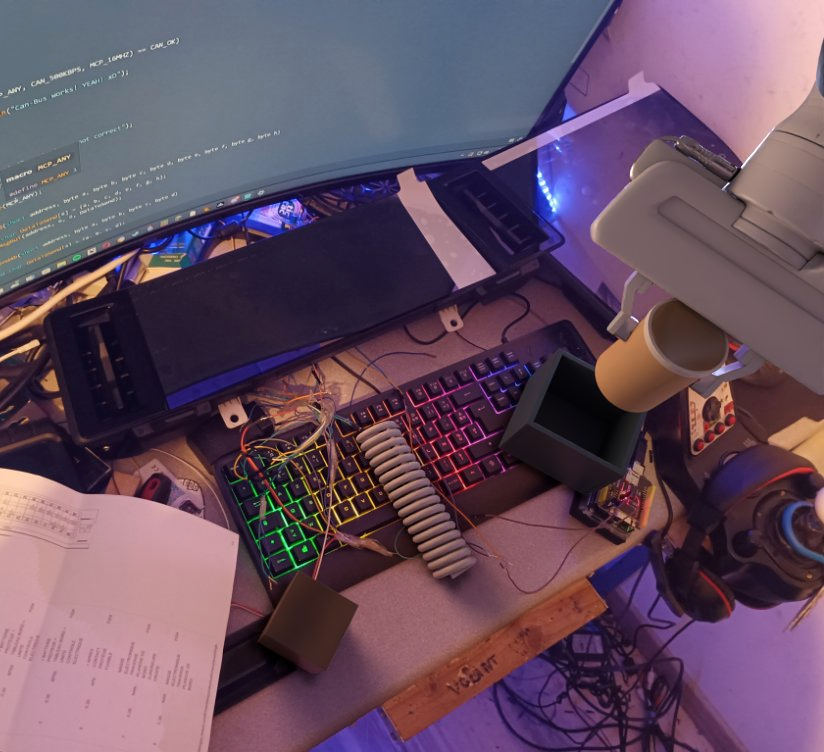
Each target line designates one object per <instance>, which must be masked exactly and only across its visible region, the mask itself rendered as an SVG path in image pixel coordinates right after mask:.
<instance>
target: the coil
mask: <svg viewBox="0 0 824 752" xmlns="http://www.w3.org/2000/svg"><path fill="white" fill-rule="evenodd" d="M397 426H398V425H397V423H396V422H395V421H393V420H386V421H383V422H380V423H377V424H374V425H373V426H371V427H368V428H366V429H364V430H363V431H362V432H360V433H358V434H357V436H356V437H355V441H356V443H358V444H361V445H360V451H363V452H365V454H364V456H365V459H367V460H369V465H370V467H371V468H375V469H374V470H373V471H374V474H375V475H376V476H380V477H379V478H378V482H379V483H380V484H385V485H384V486H383V490H384V492H386V493H389V494H388V499H389V500H390V501H394V500H395V501H394V502H393V505H392V506H393V508H394V509H399V511H398V512H397V516H399V517H400V518H404V517H405V518H404V519H403V520H402V524H403V525H404V526H406V527H408V526H409V527H408V529H407V532H408V534H409V535H414V536H413V537H412V541H413V543H415V544H418V545H417V550H418V551H419V552H420V553H423V554H422V559H423V561H426V562H428V561H429V562H428V563H427V568H428V569H429V570H431V571H433V572H432V577H433V578H434V579H435V580H439V579H442V578H445V577H447V576H449V577H450V578H451V580H454V579H455V578H456V577H458V576H460V575H461V574H463V573H464V572H466V571H467V570H469V569H470V568H471V567H473V566H474V565H475V564H476V563H477V558H476V557H475V556H472V555H471V553H472V551H471V550H472V549H471V548H469V547H465V546H466V542H467V541H466V539H464V538H460V537H461V532H460V530H459V529H455V528H456V523H455V521H453V520H450V519H451V514H450V513H449V512H447V511H446V506H445V504H443V503H440V502H441V497H440V496H439V495H438V494H437V495H436V494H435V493H436V489H435V488H434V487H433V486H430V485H431V480H430V479H429V478H426V471H424V470H423V469H421V464H420V462H418V461H416V455H415V454H414V453H411V451H412V448H411V447H410V446H409V445H407V440H406V438H405V437H402V431H401V430H400V429H398V428H397ZM393 457H394V458H393ZM398 465H399V466H398ZM399 475H401V476H399ZM398 476H399V477H398ZM396 477H397V478H396ZM401 485H403V486H401ZM399 486H400V487H399ZM398 487H399V488H398ZM407 493H408V494H407ZM405 494H406V495H405ZM400 497H401V498H400ZM407 504H408V505H407ZM403 506H404V507H403ZM402 507H403V508H402ZM400 508H401V509H400ZM406 516H407V517H406ZM410 525H411V526H410ZM470 555H471V556H470Z"/></svg>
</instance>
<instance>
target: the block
mask: <svg viewBox="0 0 824 752" xmlns="http://www.w3.org/2000/svg"><path fill="white" fill-rule="evenodd" d="M359 607H360V604H358V603H356V602H355V601H353V600H351V599H349V598H348V597H346V596H344V595H342V594H340V593H339V592H338V591H336V590H335V589H332V588H330V587H328V586H327V585H326V584H324V583H322V582H320V581H318V580H317V579H315V578H313V577H311V576H310V575H308V574H307V573H305V572H303V571H301V570H298V571H297V572H296V573H295V575H293V578H292V579H291V581H290V582H289V583H288V585H287V586H286V588H285V590H284V592H283V594H282V596H281V597H280V599H279V601H278V603H277V605H276V607H275V609H274V611H273V612H272V614H271V616H270V618H269V620H268V621H267V623H266V625H265V626H264V629H263V630H262V633H261V634H260V636H259V638H258V640H257V643H258V644H260V645H261V646H263V647H265V648H266V649H269V650H270V651H272V652H273V653H275V654H277V655H278V656H280V657H282V658H283V659H286V660H287V661H289V662H291V663H292V664H294V665H296V666H297V667H299V668H301V669H302V670H304V671H306V672H307V673H309V674H317V673H323V672H327V671H328V669H329V668H330V665H331V664H332V661H333V659H334V657H335V655H336V653H337V652H338V649H339V647H340V645H341V643H342V641H343V639H344V637H345V635H346V633H347V631H348V629H349V627H350V625H351V623H352V621H353V619H354V617H355V614H356V612H357V611H358V608H359Z"/></svg>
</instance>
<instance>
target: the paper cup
mask: <svg viewBox="0 0 824 752" xmlns="http://www.w3.org/2000/svg"><path fill="white" fill-rule="evenodd" d="M729 352H730V341H729V337H728V333H727V332H725V331H724V330H722V329H721V328H719V327H718V326H716V325H715V324H713V323H712V322H710V321H709V320H707V319H706V318H705V317H703V316H702V315H700V314H699V313H697V312H696V311H694V310H693V309H691V308H690V307H688V306H687V305H685V304H684V303H683V302H681V301H680V300H678V299H677V298H675V297H669V298H665V299H663V300H661V301H659V302H658V303H656V304H655V305H654V306H653V307H652V308H651V309H649V311H648V312H647V314H646V316H644V317H643V318H642V319H641V320H639V324H638V325H637V327H636V328H635V329H634V331H632V332H630V336H629V337H628V338H627V340H625V341H624V342H623V341H622V340H620V339H619V338H618V339H617V340H616V341H615V342H614V343H613V344H611V345H610V346H608V348H607V349H606V350H604V351H603V352H602V353H601V354H600V356H599V357H598V359H597V361H596V364H595V376H596V381H597V384H598V386H599V388H600V390H601V392H602V393H603V395H604V396H605V397H606V398H607V399H608V400H609V401H610V402H611V403H612V404H614V405H615V406H617V407H618V408H620V409H623V410H625V411H629V412H645V411H647V412H648V411H650V410H652V409H654V408H655V407H657V406H659V405H660V404H663V402H665V401H667V400H669V399H670V398H671V397H673V396H675V395H676V394H678V393H679V392H681V391H683V390H684V389H686V388H687V387H688V386H689V385H691V384H692V383H694V382H695V381H697V380H698V379H700V378H702V377H705V376H708V375H710V374H712V373H714V372H715V371H717V370H718V369H720V368H721V367H724V366H725V363H726V361H727V359H728V357H729Z"/></svg>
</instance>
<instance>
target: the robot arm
mask: <svg viewBox="0 0 824 752" xmlns="http://www.w3.org/2000/svg"><path fill="white" fill-rule="evenodd" d="M815 74H816V75H815V80H814V83H813V85H812V87H811V88H810V91H809V93H808V94H807V96H806V98H805V99H804V100H803V102H802V103H801V104H800V105H799V107H797V108H796V109H795V110H794V111H793V112H792V113H791V114H790V115H788V116H787V117H785V118H784V119H782V120H781V121H780V122H779V123H778V124H777V125H775V126H774V127H773V128H772V129H771V131H770V132H768V134H767V135H766V136H765V137H764V139H763V140H762V141H761V142H760V143H759V145H758V146H757V147H756V149H755V150H754V151H753V152H752V153H751V154H750V155H749V157H748V158H747V159H746V160H745V161H744V163H743V164H742V165H741V167H737V166H736V165H734V164H733V163H731V162H729V161H728V160H727V159H724V158H723V157H722V156H720V155H718V154H716V153H713V152H711V151H710V150H708V149H706V148H704V147H703V146H702V145H700V143H699V142H698V141H697V140H695V138H692V137H689V136H688V135H684V134H682V135H681V136H680V137H678V136H674V135H663V136H659V137H657V138H655V139H653V140H652V141H650V142H649V143H648V144H646V145H645V147H644V148H643V149H642V151H641V153H640V154H639V155H638V156H637V157H636V159H635V160H634V162H633V163H632V165H631V167H630V171H629V183H628V184H627V185H626V186H624V188H622V190H621V191H620V192H618V193H617V195H616V196H615V197H613V198H612V199H611V201H610V202H609V203H608V204H607V205H606V206H605V208H604V209H603V210H602V211H601V212H600V213H599V214H598V215H597V217H595V219H594V220H593V222H592V223H591V225H590V228H589V233H590V239H591V241H592V242H593V243H594V244H596V245H598V246H599V247H600V248H602V249H603V250H605V251H606V252H608V253H609V254H611V255H612V256H614V257H615V258H617V259H618V260H619V261H620V262H623V264H625V265H627V266H628V267H630V268H631V269H632V270H634V271H633V272H632V273H631V275H630V276H629V277H628V278H627V279H626V280H625V282H624V286H623V292H622V298H621V303H620V309H621V310H620V311H619V312H618V313H617V315H616V316H615V317H614V318H613V319H612V321H611V322H610V323H609V324H608V325H607V327H606V331H607V332H608V333H610V334H611V335H613V336H614V337H616V338H618V340H619V339H620V340H622V341H623V342H624V341H625V340H627V338H628V337H629V336H630V332H632V331H634V329H635V328H636V327H637V325H638V324H639V322H640V320H638V319H637V318H635V317H634V316H633V309H634V304H635V298H636V294H637V293H638V294H640V295H641V296H644V295H645V294H646V293H647V292H648V291H649V290H650V288H651V287H652V286H653V285H656V286H657V287H659V288H661V289H662V290H663V291H665V292H666V293H667V294H669V295H671V296H672V297H673V298H677V299H678V300H680V301H681V302H683V303H684V304H685V305H687V306H688V307H690V308H691V309H693V310H694V311H696V312H697V313H699V314H700V315H702V316H703V317H705V318H706V319H707V320H709V321H710V322H712V323H713V324H715V325H716V326H718V327H719V328H721V329H722V330H724V331H725V332H726V333H727V335H730V336H731V337H732V338H734V339H735V340H736V341H739V343H741V346H740V347H739V348H738V349H737V350H736V351H735V352H734V353H733V358H735V359H736V360H737V361H734V362H732V363H729V364H726V365H723V366H722V367H721V368H720V369H718V370H717V371H715V372H714V373H712V374H710V375H708V376H705V377H702V378H700V379H698V380H697V381H695V382H694V383H692V384H691V385H689V386H687V387H688V388H689V389H690V390H692V391H693V392H694V393H696V394H698V395H699V396H700V397H702V398H703V399H705V400H707V399H708V398H710V397H711V396H712V395H713V394H714V393H715V392H716V391H717V389H719V387H721V385H722V384H723V383H728V382H731V381H735V380H737V379H741V378H744V377H747V376H750V375H753V374H755V373H756V372H757V371H759V369H760V368H761V367H762V366H763V365H764V364H765V363H766V362H767V361H768V362H769V363H770V364H772V365H774V366H775V367H776V368H778V369H779V370H780V371H782V372H783V373H785V374H787V376H789V377H791V378H792V379H794V380H795V381H797V382H798V383H800V384H801V385H803V386H804V387H806V388H807V389H809V390H810V391H812V392H813V393H814V394H816V395H820V396H821V395H822V396H823V395H824V37H823V39H822V42H821V46H820V52H819V54H818V58H817V67H816V73H815ZM668 143H674V145H673V146H671V145H670V144H668Z"/></svg>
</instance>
